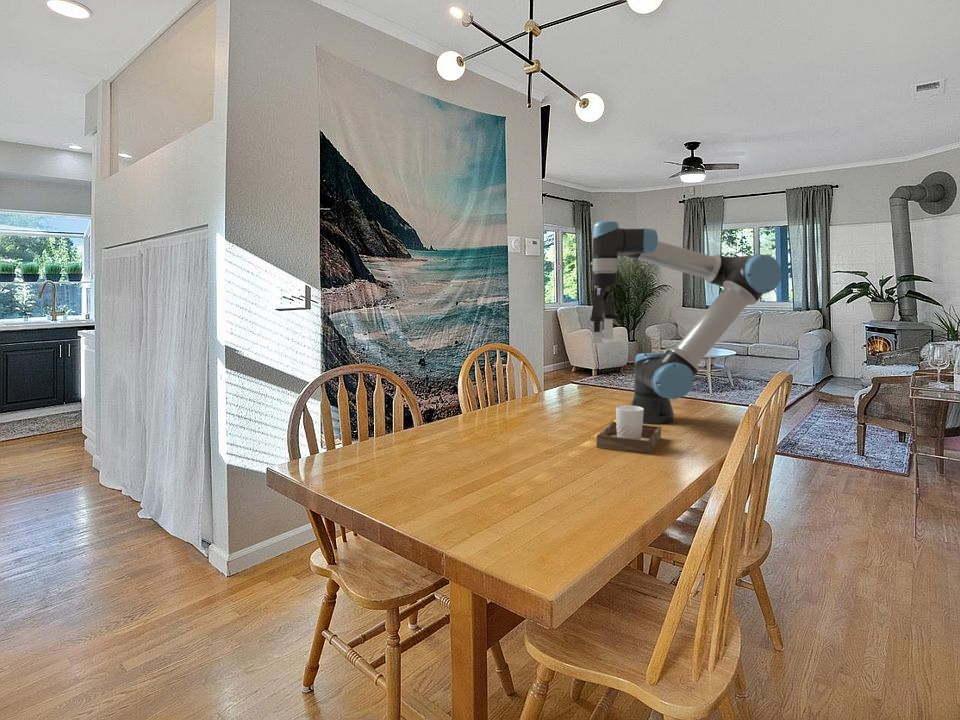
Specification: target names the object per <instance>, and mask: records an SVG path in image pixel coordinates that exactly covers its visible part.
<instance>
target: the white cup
mask: <svg viewBox="0 0 960 720" xmlns="http://www.w3.org/2000/svg"><path fill="white" fill-rule="evenodd" d="M643 415H644V408H642V407H639V406H631V404H630V405H628V404H627V405H625V404H623V405H618V406H616V407H615V417H616V418H615V422H616V429H617V430H616V431H617V437H621V438H630V439H639V440H641V434H642V426H643V425H644V423H643Z"/></svg>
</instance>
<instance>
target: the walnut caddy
mask: <svg viewBox="0 0 960 720" xmlns="http://www.w3.org/2000/svg"><path fill="white" fill-rule="evenodd" d="M616 430H617V429H616V421H610V423H608V425H606V427H604V428H603V429H602V430H601V431H600V432H599V433H598V434H597V435H596V448H600V449H608V450H614V449H615V450H614V451H622V450H623V451H624V452H631V453H640V454H647V455H651V454H652V452H653V450H654V449H655V447H656V446H657V444H658V443H659V441H660V440H661V438H662V434H661V433H662V427H661V426H655V425H647V424H646V425H645V424H643V426H642V434H641V440H639V439H630V438H621V437H617V431H616ZM623 451H622V452H623Z"/></svg>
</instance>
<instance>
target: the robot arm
mask: <svg viewBox="0 0 960 720" xmlns="http://www.w3.org/2000/svg"><path fill="white" fill-rule="evenodd" d="M618 257H627V258H630V259H633V260H634V259H635V260H638V261H642V262H645V263H649V264H653V265H656V266H660V267H663V268H667V269H671V270H674V271H678V272H681V273H683V274H688V275H692V276H695V277H699V278H703V279H704V281H705V282H706V283H709V284H712V285H714V286H715V285H716V286H718V287H721V288H723V290H722V291H721V292H720V293H719V295H718V296H716V298H715V299H714V301H713V302H712V303H711V304H710V306H709V307H708V308H707V309H706V311H704V312H703V314H702V315H701V316H700V318H699V319H698V320H697V321H696V322H695V323H694V324H693V326H692V327H691V329H690V330H688V332H687V333H686V334H685V336H684V337H683V338H682V339H681V340H680V342H679V343H678V344H677V345H676V346H675V347H673V348H668V349H667V350H666V351H665V352H662V353H660V352H659V353H658V352H657V353H654V352H653V353H652V352H651V353H637V354H636V356H635V362H634V387H633V388H634V391H633V392H634V393H633V399H632V401H631V404H630V405H631V406H639V407H642V408H644V415H643V424H660V425H661V424H668V423H672V422H674V419H675V412H674V409H673V406H672V403H671V400H677V399H681V398H683V397H685V396H686V395H687V394H688V393H690V392H691V390H692V388H693V387H694V378H695V376H696V375H697V374H698V372H699V371H700V370H699V363H701V361H702V360H703V359H704V358H705V357H706V355H707V354H708V352H709V351H710V350H711V349H712V348H713V347H714V346H715V345H716V343H717V342H718V341H719V340H720V339H721V337H723V335H724V334H725V332H726V331H727V330H728V329H729V328H730V327H731V325H732V324H733V323H734V322H735V321H736V319H737V318H738V317H739V315H740V314H741V313H742V312H743V311H744V309H745V308H746V307H747V306H750V305H751V306H752V305H756V303H757V302H758V301H759V300H760V298H761V297H763V295H764V294H768V293H770V292H773V291H774V290H775V289H776V288H777V287H778V286H779V285H780V283H781V280H782V275H783V273H782V268H781V265H780V263H779V262H778V260H777V259H776V258H774V257H773V256H772V255H768V254H761V253H759V254H753V255H744V256H725V255H721V254H714V255H710V254H709V255H708V254H706V253H702V252H698V251H695V250H691V249H688V248H684V247H681V246H676V245H673V244H669V243H666V242H663V241H659V237H658V233H657V231H656V230H655V228H646V227H644V228H620V226H619V222H617V221H610V220H607V221H605V220H604V221H598V222H595V223H594V225H593V232H592V261H591V262H590V265H591V266H592V272H593V273H592V276H591V285H593V286H598V287H597V288H594V296H593V303H592V309H591V310H592V311H591V316H590V318H589V321H590V322H592V343H595V344H597V343H598V344H603V340H605V339H606V340H613V331H614V320H615V319H616V318H617V317H616V316H617V315H616V313H615V303H614V288H612V287H611V286H616V285H618V284H617V282H618V281H617V280H618V275H617V273H616V272H617V271H618ZM603 316H604V317H605V318H604V319H603ZM602 320H603V321H602Z"/></svg>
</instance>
